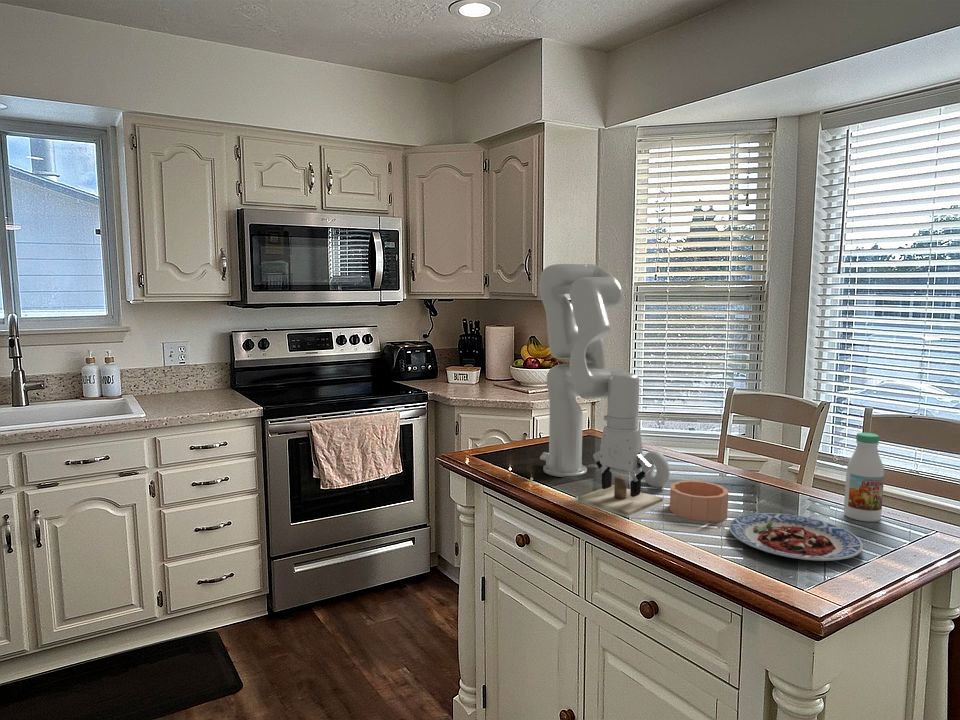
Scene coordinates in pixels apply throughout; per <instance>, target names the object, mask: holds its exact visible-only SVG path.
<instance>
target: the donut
mask: <svg viewBox="0 0 960 720" xmlns="http://www.w3.org/2000/svg"><path fill="white" fill-rule="evenodd" d="M643 458H644V459H645V460H646V461H647V462H648V463H649V464H650V465H651V466H652V469H651V470H650V471H649V472H648V474H647V475H646V476H645V477H644V478H643V479H644V481H645V483H646V484H647V485H648V486H650V487H653V488H657V489H659V488H663V487H664V486H666V485H667V483H668V482H669V478H670V475H671V474H670V465H669V462H668V460H667V458H666V457H665V455H664V454H663V453H661V452H659V451H658V450H657V451H656V450H650V451H648V452H646V453H645V454H644V455H643ZM654 467H655V468H654ZM655 469H656V472H655ZM642 470H643V466H642V467H641V468H640V471H642Z"/></svg>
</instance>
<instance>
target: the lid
mask: <svg viewBox="0 0 960 720" xmlns="http://www.w3.org/2000/svg"><path fill="white" fill-rule="evenodd" d="M630 491H631V488H628V478H627V477H625V476H615V477H614V484H611V487H609V488H606V489H602V488H599V489H597V491H596V490H594V491H591V492H589V493H585V494H583V496H582V495H580V496H577V497H578V500H579V501H582V502H585V503H589V504H592V505H595V506H599V507H602V508H605V509H609V510H612V511H615V512H619V513H622V514H625V515H631V514H633V513H636V512H638V511H641V510H643V509H645V508H648V507H650V506H652V505H655V504H657V503H660V502H662V501H663V500H664V497H661V496H656V495H652V494H650V493H645V492H642V491H640V494H639V495H637V496H635V497H631V496H630Z"/></svg>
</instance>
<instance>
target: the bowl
mask: <svg viewBox="0 0 960 720" xmlns="http://www.w3.org/2000/svg"><path fill="white" fill-rule="evenodd" d="M669 501H670V502H669V511H670V512H671V513H673V514H675V515H676V516H678V517H682V518H684V519H689V520H696V521H705V522H707V523H708V524H710V523H711V524H712V523H720V522H723V521H724V520H726V519H728V505H729V491H728V489H727V488H726V487H723V486H722V485H720V484H717V483H712V482H709V481H703V480H702V481H700V480H691V479H690V480H679V481H675V482H672V483H670V493H669ZM708 521H709V522H708Z"/></svg>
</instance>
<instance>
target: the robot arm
mask: <svg viewBox="0 0 960 720" xmlns="http://www.w3.org/2000/svg"><path fill="white" fill-rule="evenodd" d="M538 287H539V294H540V298H541V301H542V305H543V307H544V311H545V315H546V327H547V337H548V338H547V339H548V340H547V341H548V349H549V352H550V355H551V356H552V357H553V358H555V359H557V360H569V363H561V364H556V365H554V366H551V368H549V370H548V371H547V373H546V385H547V387H546V388H547V392H548V400H549V429H548V430H549V431H548V433H549V434H548V435H549V436H548V437H549V438H548V452H546V451H543V452H542V453H541V455H540V456H539V460H541V461H544V462H545V465H543V472H544V473H545V474H547V475H548V476H554V477H559V478H561V477H562V478H566V477H577V476H582V475H584V474H586V473H587V472H588V468H587V466H585V465H583V464H582V463H583V459H582V458H583V423H584V422H583V420H584V418H583V417H584V416H583V410H582V407H581V405H580V404H579V403H578V402H577V399H576V398H578V397H579V398H582V399H585V400H594V399H595V400H596V399H607V407H606V408H607V409H606V410H607V412H606V413H607V415H606V414H605V415H604V416H603V420H604V421H606V425H604V426H603V427H604V428H603V430H602V434H601V440H600V447H599V450H598V451H596V452H595V453H593V454H592V457H593V460H594V461H595V462H596V463H595V464H596V465H597V467H598V468H599V473H600V474H601V489H606V488H609V487H611V485H612V474H613V473H612V471H610V470H611V469H615V470H619V471H623V472H629V474H630V476H631V478H632V480H631V481H630V489H631V491H630V496H631V497H635V496H637V495H639V494H640V492H642V491H641V490H642V480H643V479H644V477H645V476H646V475H647V474H648V472H649V471H650V470H651V469H652V466H651V465H650V464H649V463H648V462H647V461H646V460H645V459H644V454H643V441H642V440H643V439H642V434H641V430H640V429H639V410H640V409H639V407H640V406H639V405H640V404H639V403H640V378H639V376H638V375H637V374H635V373H634V372H633V373H631V372H627V371H625V370H623V369H621V368H618V367H617V368H615V367H614V368H613V367H612V368H607V366H606V354H605V345H604V338H606V337H607V336H608V335H609V333H611V328H612V327H611V324H610V320H609V316H608V313H607V312H608V311H607V309H612V308H613V309H614V308H617V307H618V306H619V305H620V304H621V302H622V300H623V290H622V286H621V284H620V282H619V281H618V280H617V278H616V277H615V276H614V275H612V274H611V273H610V272H608V271H607V270H606V269H603V268H602V267H601V266H599V265H596V264H585V263H584V264H583V263H556V264H551V265H548V266H546V267H545V268H544V269H543V270H542V272H541V274H540V277H539V283H538ZM566 295H569V298H570V300H569V298H568V297H566ZM642 466H643V470H642V471H641V467H642Z"/></svg>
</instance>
